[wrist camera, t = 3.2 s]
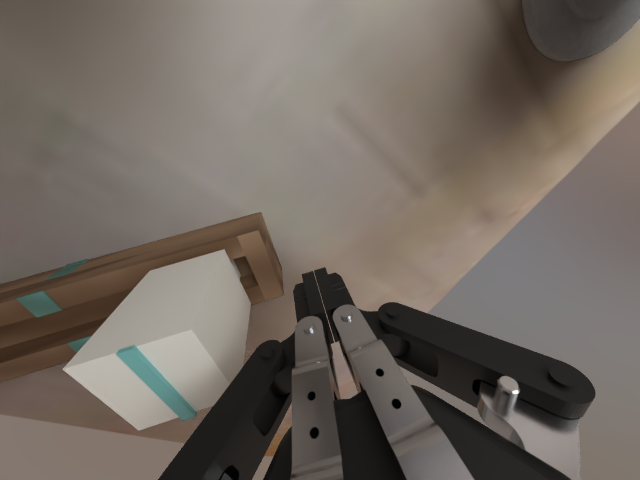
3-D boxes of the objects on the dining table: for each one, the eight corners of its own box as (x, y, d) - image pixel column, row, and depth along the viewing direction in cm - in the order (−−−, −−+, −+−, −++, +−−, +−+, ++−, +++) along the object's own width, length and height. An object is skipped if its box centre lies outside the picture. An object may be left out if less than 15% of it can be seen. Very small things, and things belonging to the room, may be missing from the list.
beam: (-128, 318, 17) (-414, 452, 10) (260, 210, 19) (253, 257, 12) (-49, 368, 20) (-227, 499, 13) (282, 269, 22) (286, 335, 15)
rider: (162, 254, 17) (56, 372, 8) (229, 235, 17) (188, 331, 9) (195, 305, 19) (137, 436, 11) (253, 287, 19) (239, 402, 11)
